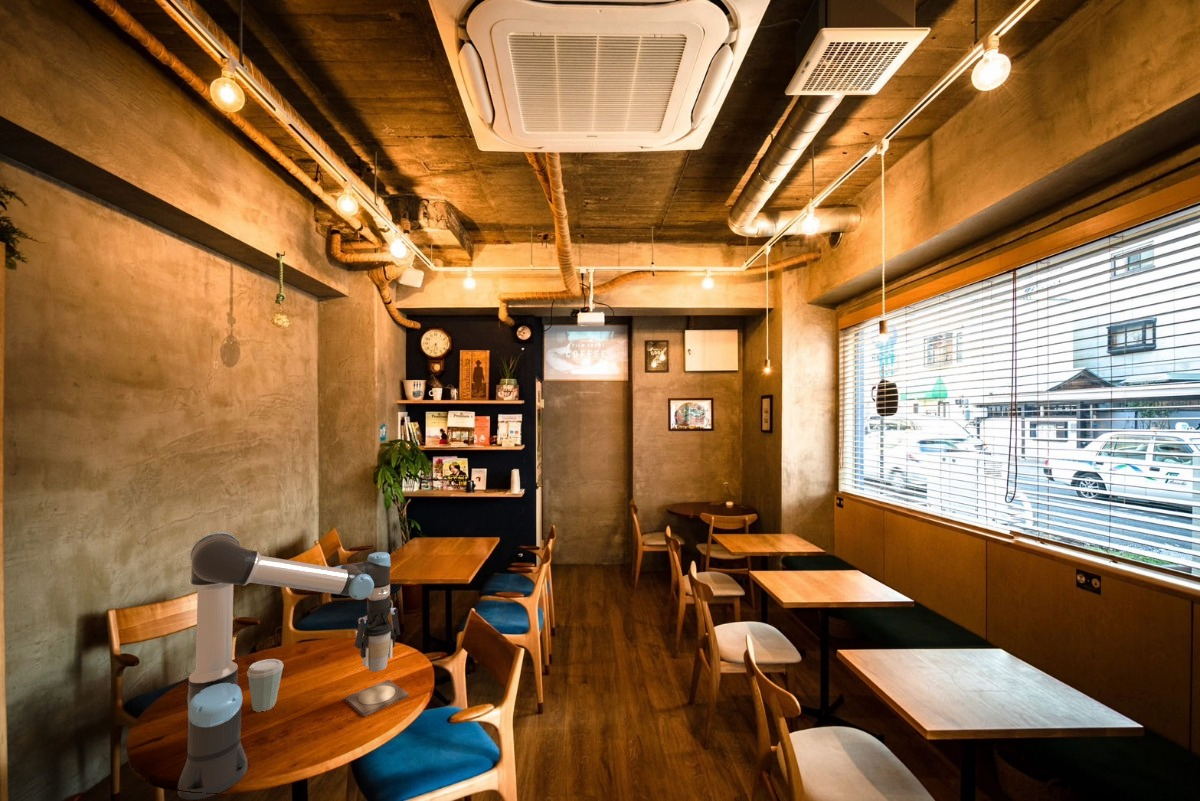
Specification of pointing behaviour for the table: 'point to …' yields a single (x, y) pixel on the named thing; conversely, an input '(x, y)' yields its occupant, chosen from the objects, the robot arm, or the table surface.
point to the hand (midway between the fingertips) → (377, 661)
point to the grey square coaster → (376, 697)
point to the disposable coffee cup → (264, 683)
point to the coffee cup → (378, 646)
